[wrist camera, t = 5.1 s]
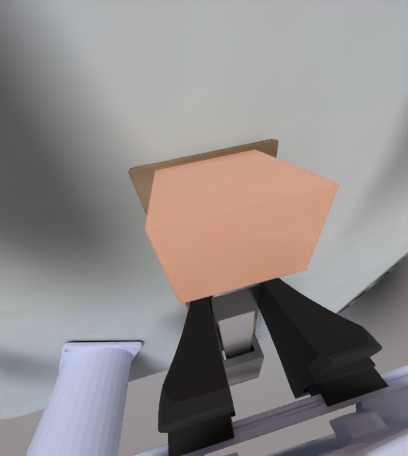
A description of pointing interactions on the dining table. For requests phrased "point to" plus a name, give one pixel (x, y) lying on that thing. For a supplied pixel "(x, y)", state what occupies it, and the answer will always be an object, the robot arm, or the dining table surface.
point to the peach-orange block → (235, 221)
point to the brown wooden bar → (235, 367)
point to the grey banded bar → (236, 318)
